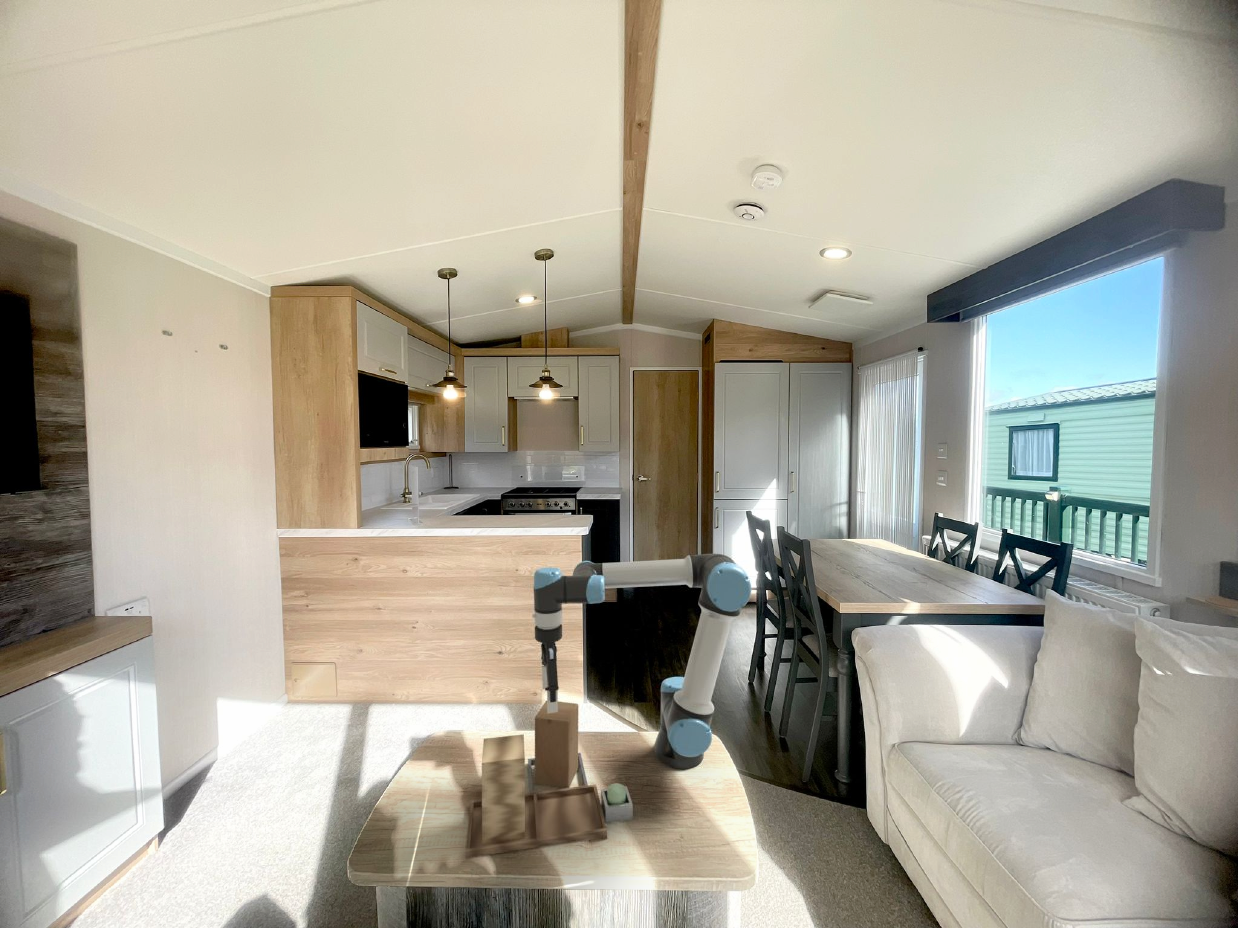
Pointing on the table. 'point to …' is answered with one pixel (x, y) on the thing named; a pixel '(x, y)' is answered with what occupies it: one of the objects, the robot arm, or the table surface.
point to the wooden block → (556, 746)
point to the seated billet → (503, 789)
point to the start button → (616, 794)
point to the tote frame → (532, 762)
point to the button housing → (616, 808)
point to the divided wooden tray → (545, 821)
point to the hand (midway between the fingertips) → (549, 699)
